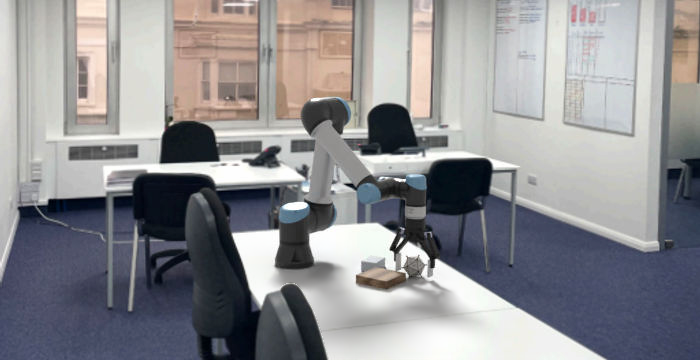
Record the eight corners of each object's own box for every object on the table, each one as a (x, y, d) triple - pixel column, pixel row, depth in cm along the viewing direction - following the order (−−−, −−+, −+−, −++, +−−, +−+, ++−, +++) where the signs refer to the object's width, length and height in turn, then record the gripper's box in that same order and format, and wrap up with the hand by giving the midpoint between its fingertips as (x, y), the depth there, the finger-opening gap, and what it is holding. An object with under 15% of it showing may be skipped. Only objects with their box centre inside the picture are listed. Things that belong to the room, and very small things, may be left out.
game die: (417, 287, 299) (424, 271, 292) (396, 278, 300) (402, 261, 293) (424, 271, 305) (431, 254, 298) (403, 261, 306) (410, 245, 299)
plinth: (355, 283, 291) (355, 274, 290) (375, 274, 301) (375, 267, 301) (386, 289, 284) (386, 281, 283) (405, 281, 294) (405, 273, 294)
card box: (361, 271, 307) (361, 261, 306) (370, 265, 315) (371, 255, 314) (375, 273, 305) (375, 263, 304) (385, 267, 313) (385, 257, 312)
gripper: (380, 214, 300) (380, 269, 303) (440, 223, 286) (438, 281, 289) (391, 211, 306) (390, 265, 310) (450, 219, 292) (448, 276, 295)
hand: (413, 273), depth 299 cm, fingers open, 13 cm apart
